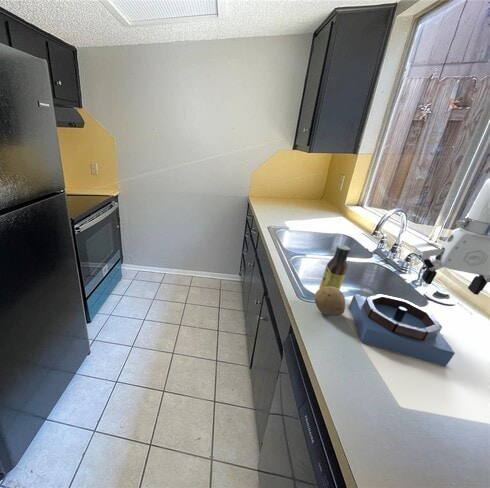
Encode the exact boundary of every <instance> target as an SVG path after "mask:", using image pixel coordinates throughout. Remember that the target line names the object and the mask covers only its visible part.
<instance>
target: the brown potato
mask: <svg viewBox="0 0 490 488" xmlns="http://www.w3.org/2000/svg"><path fill="white" fill-rule="evenodd" d="M313 298H314V300H313V301H314V303H315V305H316V307H317V310H318V311H319V312H320V313H321V314H323V315H325V316H341V315H343V314H344V313H345V310H346V298H345V295H344V293H343V291H341V289H340V290H339V289H337V288H335V287H331V286H328V287H323V288H321V289H319V288H318V289H317V290H316V292H315V293H314V295H313Z"/></svg>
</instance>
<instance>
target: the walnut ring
mask: <svg viewBox="0 0 490 488" xmlns="http://www.w3.org/2000/svg"><path fill="white" fill-rule="evenodd" d="M366 297H367V298H366V300H365V302H364V304H363V307H364V310H365V312H366V314H367V317H369V319H371V320H372V321H374V322H376V323H377V324H379V325H380V326H382V327H384V328H385V329H387V330H388V331H390V332H393V333H394V334H398V335H401V336H405V337H409V338H413V339H416V340H420V341H422V340H423V341H425V340H428V339H430V338H433V337H435V336H437V335H438V333H439V332H440V333H441V331H442V329H443V326H442V324H441V323H440V322H439V320H437V318H436V317H435V315H434V314H433V313H431V312H430V311H429V310H426V309H424V308H423V307H420V306H418V305H416V304H414V303H413V302H411V301H409V300H405V299H403V298H400V297H394V296H390V295H386V294H380V293H377V294H374V295H370V296H366ZM378 304H381V305H385V306H390V307H394V308H398V307H404V308H406V309H407V313H409V314H411V315H412V316H414V317H416V318H418V319H420V320H422V321H423V323H424V324H425V326H426V327H427V328H425V329H421V328H417V327H413V326H409V325H406V324H402V323H398V322H396V321H394V320H392V319H391V318H389V317H387V316H386V315H384V314H382V313H381V312H379V311H377V310H376V308H375V306H374V305H378Z"/></svg>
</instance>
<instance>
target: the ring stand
mask: <svg viewBox="0 0 490 488" xmlns="http://www.w3.org/2000/svg"><path fill="white" fill-rule="evenodd" d="M367 297H368V296H362V295H358V294H353V296H352V298H351V301H350V303H349V310H350V312H351V316H352V318H353V322H354V324H355V327H356V330H357V334H358V336H359V339H360V342H361V343H363V344H367V345H369V346H374V347H377V348H380V349H383V350H387V351H390V352H394V353H397V354H401V355H404V356H407V357H411V358H413V359H414V358H415V359H418V360H422V361H425V362H428V363H432V364H434V365H438V366H442V367H447V366H448V365H449V363H450V361H451V360H452V358H453V357H454V356H455V354H456V352H455V351H454V349H453V348H452V347H451V345H450V344H449V342H448V341H447V340H446V338H445V337H444V336H443V334H442V333H441V331H440V332H439V333H438V335H437V336H435V337H433V338H430V339H428V340H425V341H423V340H422V341H420V340H416V339H413V338H409V337H405V336H401V335H398V334H394V333H393V332H390V331H388V330H387V329H385V328H384V327H382V326H380V325H379V324H377V323H376V322H374V321H372V320H371V319H369V317H367V314H366V312H365V310H364V307H363V304H364V302H365V300H366V298H367ZM374 306H375V308H376V310H377V311H379V312H381V313H382V314H384V315H386V316H387V317H389V318H391V319H392V320H394V321H396V322H398V323H402V324H406V325H409V326H413V327H417V328H421V329H425V328H427V327H426V326H425V324H424V323H423V321H422V320H420V319H418V318H416V317H414V316H412V315H411V314H409V313H407V309H406V308H404V307H398V308H394V307H390V306H385V305H381V304H378V305H374Z"/></svg>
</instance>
